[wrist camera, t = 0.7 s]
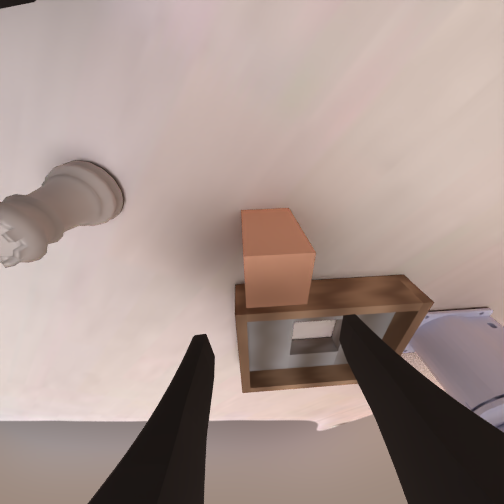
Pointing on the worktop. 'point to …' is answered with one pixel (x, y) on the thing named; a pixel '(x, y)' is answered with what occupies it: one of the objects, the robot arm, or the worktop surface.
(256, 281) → the terracotta peg
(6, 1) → the protein powder
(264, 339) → the box
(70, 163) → the rook chess piece
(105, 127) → the worktop surface
